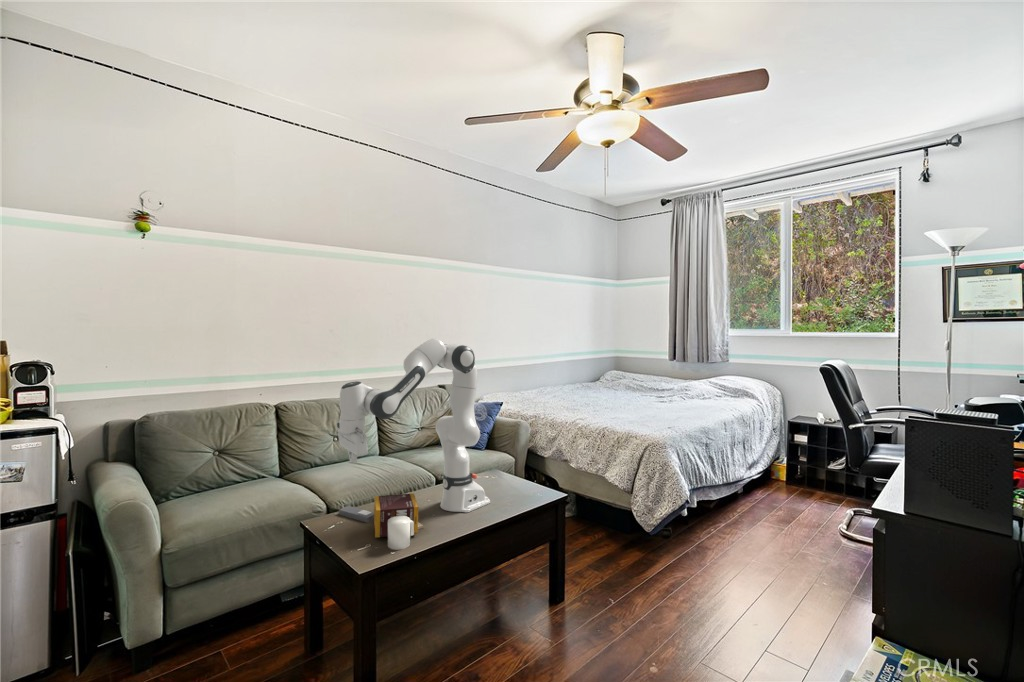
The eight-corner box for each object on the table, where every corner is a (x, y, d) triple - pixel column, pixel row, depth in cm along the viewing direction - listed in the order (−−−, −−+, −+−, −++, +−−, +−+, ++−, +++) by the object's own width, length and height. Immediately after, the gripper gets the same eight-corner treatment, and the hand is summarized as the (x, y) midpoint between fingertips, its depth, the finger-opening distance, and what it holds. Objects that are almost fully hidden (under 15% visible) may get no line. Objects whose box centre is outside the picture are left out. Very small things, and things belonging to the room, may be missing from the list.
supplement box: (375, 510, 174) (418, 506, 179) (374, 495, 189) (414, 492, 194) (375, 538, 175) (418, 533, 180) (373, 521, 189) (413, 517, 194)
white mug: (407, 536, 180) (407, 513, 179) (417, 544, 173) (417, 520, 173) (384, 543, 174) (384, 519, 174) (393, 551, 168) (393, 526, 167)
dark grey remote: (339, 515, 199) (339, 508, 199) (348, 511, 203) (348, 504, 203) (367, 523, 191) (367, 516, 191) (376, 519, 196) (376, 512, 196)
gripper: (371, 429, 171) (372, 467, 171) (351, 419, 186) (351, 454, 187) (354, 432, 167) (355, 471, 167) (334, 422, 183) (335, 457, 183)
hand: (353, 462), depth 178 cm, fingers closed
